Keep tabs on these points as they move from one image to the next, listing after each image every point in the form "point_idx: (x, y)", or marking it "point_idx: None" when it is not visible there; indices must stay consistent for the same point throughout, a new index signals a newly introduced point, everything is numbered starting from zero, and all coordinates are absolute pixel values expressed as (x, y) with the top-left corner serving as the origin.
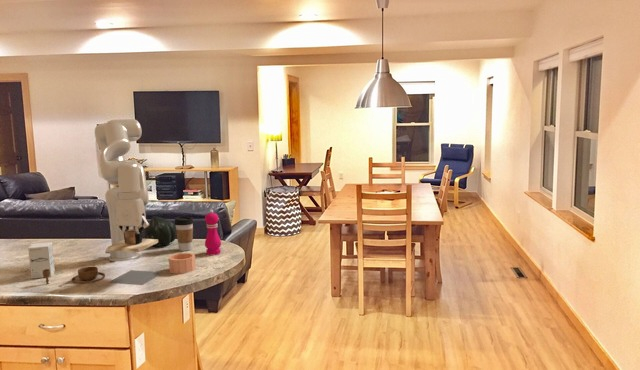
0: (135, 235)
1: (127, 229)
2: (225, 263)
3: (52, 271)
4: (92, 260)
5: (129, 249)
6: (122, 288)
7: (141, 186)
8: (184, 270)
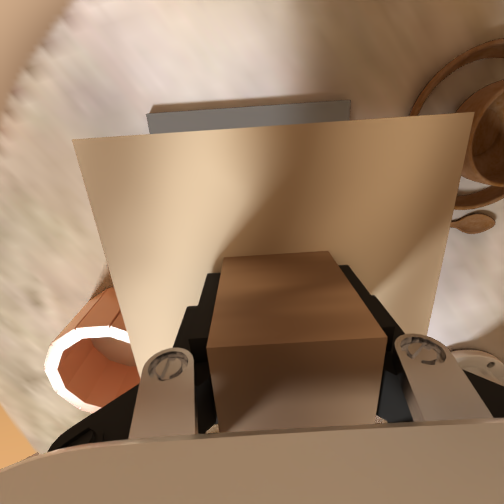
0: (210, 324)
1: (398, 418)
2: (51, 420)
3: None
4: None
5: (192, 131)
6: (227, 59)
7: None
8: (84, 307)
